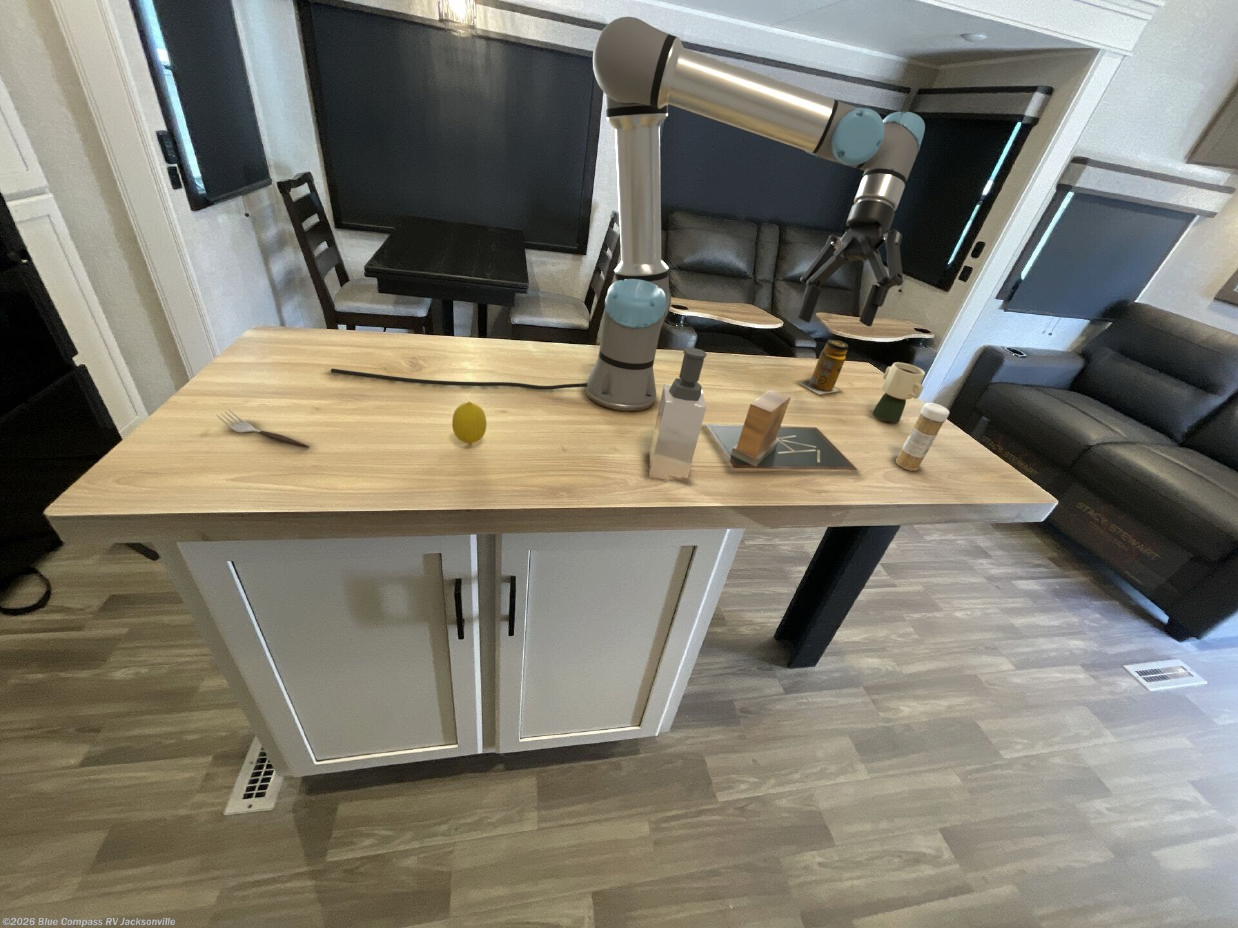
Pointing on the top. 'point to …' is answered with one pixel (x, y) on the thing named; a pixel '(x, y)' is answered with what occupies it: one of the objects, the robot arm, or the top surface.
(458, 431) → the lemon
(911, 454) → the sprinkles bottle
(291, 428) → the top surface
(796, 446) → the chalkboard
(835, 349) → the condiment
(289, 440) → the fork
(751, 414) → the eraser
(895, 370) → the cream and green goblet
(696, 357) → the soap dispenser
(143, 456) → the top surface
